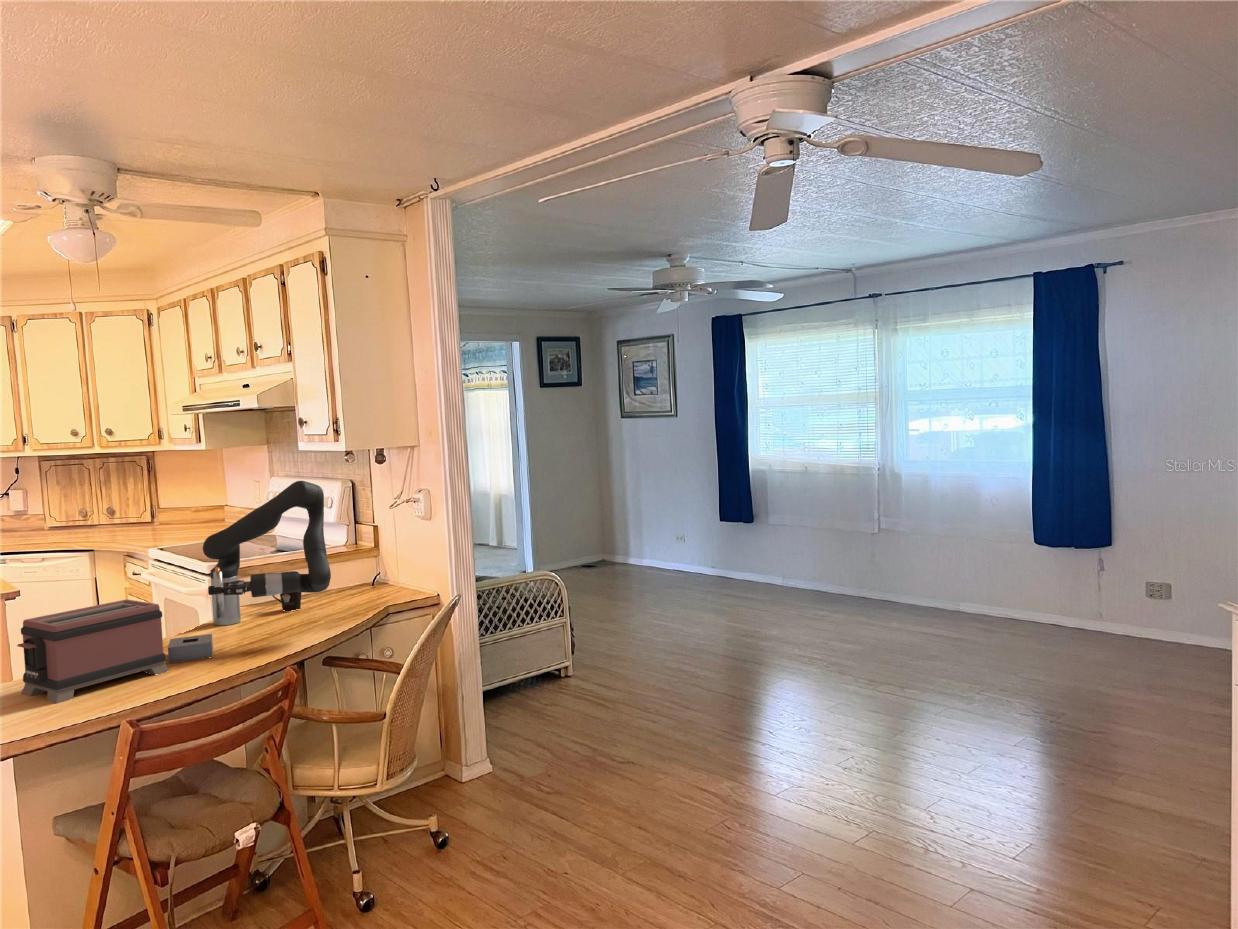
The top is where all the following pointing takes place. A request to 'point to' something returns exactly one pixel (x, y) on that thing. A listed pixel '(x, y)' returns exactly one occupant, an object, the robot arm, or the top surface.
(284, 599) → the coffee mug
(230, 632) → the top surface
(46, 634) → the toaster
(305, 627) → the top surface
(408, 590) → the top surface
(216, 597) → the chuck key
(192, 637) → the block
